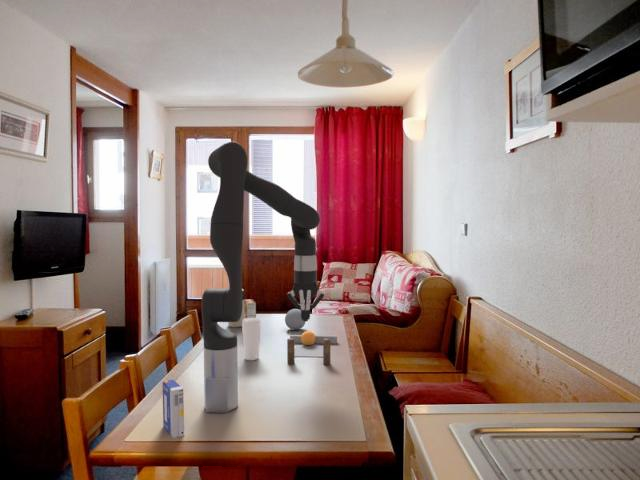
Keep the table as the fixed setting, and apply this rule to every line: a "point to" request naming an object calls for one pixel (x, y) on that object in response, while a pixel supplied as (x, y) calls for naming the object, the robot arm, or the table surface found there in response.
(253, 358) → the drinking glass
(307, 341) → the ball
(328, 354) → the post right
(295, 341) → the gray bar
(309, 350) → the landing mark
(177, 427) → the blue and white carton
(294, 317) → the decorative stone
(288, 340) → the post left
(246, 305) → the candy box
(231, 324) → the travel mug
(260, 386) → the table surface
